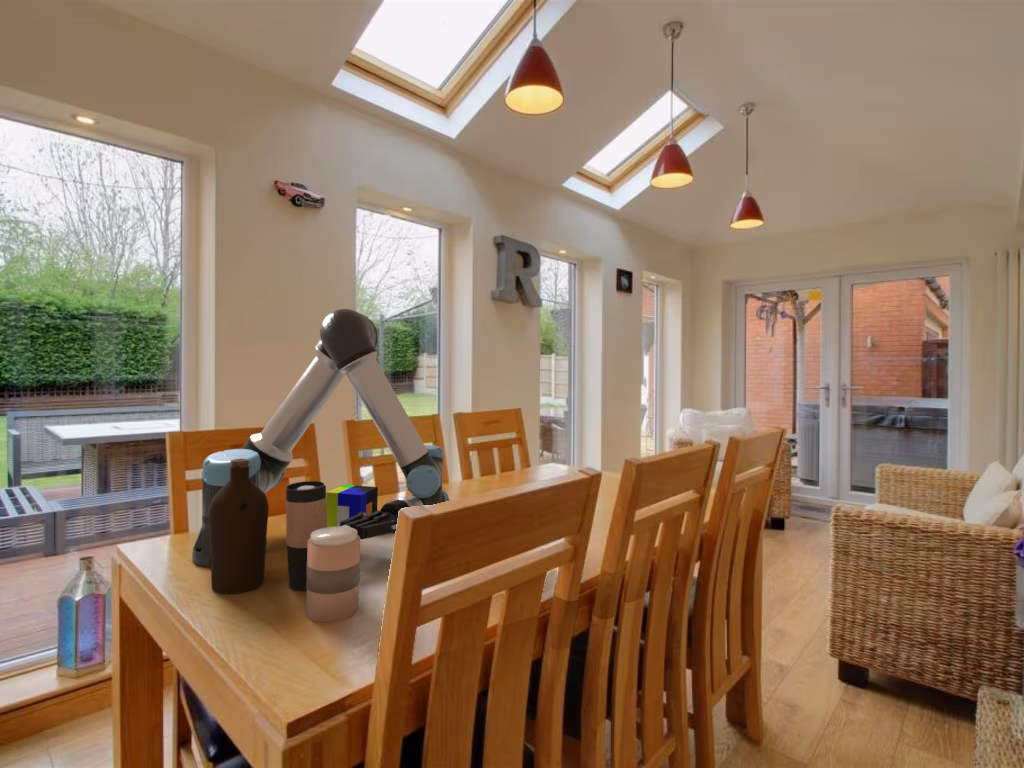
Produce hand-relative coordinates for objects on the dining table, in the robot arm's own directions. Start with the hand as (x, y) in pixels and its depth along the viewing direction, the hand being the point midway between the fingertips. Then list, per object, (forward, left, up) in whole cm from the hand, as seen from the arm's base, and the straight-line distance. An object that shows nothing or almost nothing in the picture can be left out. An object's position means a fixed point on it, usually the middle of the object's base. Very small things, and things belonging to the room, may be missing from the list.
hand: (323, 539), depth 112 cm
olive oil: (-16, -3, -8) cm, 18 cm away
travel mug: (-2, -3, -8) cm, 9 cm away
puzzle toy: (-2, +37, -8) cm, 38 cm away
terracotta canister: (+6, -15, -8) cm, 18 cm away
